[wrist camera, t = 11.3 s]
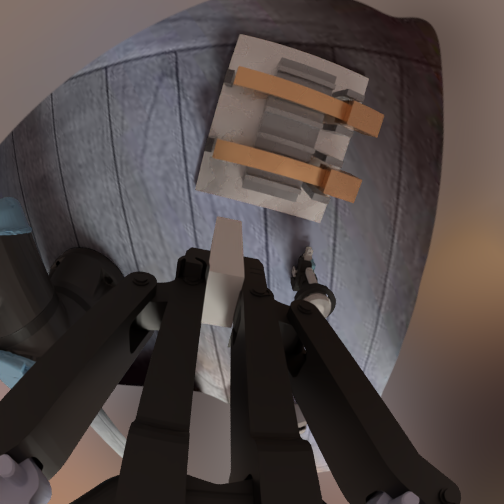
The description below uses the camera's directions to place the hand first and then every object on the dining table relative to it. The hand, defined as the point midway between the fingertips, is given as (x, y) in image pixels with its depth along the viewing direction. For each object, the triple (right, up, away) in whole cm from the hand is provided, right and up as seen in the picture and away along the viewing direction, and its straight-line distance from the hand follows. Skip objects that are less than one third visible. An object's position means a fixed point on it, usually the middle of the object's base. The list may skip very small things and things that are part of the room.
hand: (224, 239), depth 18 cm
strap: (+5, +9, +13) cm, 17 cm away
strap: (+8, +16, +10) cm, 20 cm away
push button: (+9, -3, +25) cm, 26 cm away
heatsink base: (+5, +15, +16) cm, 22 cm away
